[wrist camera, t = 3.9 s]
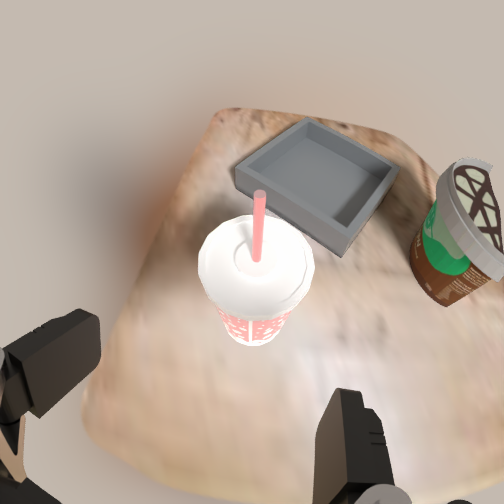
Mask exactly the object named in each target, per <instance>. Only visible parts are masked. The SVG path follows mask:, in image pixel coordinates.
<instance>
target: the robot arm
mask: <svg viewBox="0 0 504 504" xmlns="http://www.w3.org/2000/svg"><path fill="white" fill-rule="evenodd" d="M100 358H101V342H100V323H99V318H98V317H97V316H96V315H93V314H91V313H89V312H87V311H84V310H82V309H76V310H74V311H72V312H71V313H69V314H67V315H66V316H63V317H59V318H55V319H51V320H50V321H48V322H46V323H44V324H43V325H41V327H37V328H36V329H34V330H33V332H29V333H27V334H26V335H24V336H22V337H21V338H19V339H17V340H16V341H14V342H12V343H11V344H9V345H7V346H6V347H4V348H3V349H2V348H0V504H61V503H60V502H59V501H58V500H57V499H55V498H54V497H53V496H51V495H50V494H48V493H47V492H46V491H44V490H43V489H41V488H40V487H39V486H38V485H36V484H35V483H34V482H32V481H31V480H30V479H29V478H27V475H26V473H25V470H24V465H23V449H24V433H25V416H24V414H25V413H26V412H27V411H30V412H31V413H32V414H34V415H35V416H36V417H38V418H39V419H40V418H41V417H42V416H43V415H44V414H45V413H46V412H47V411H49V410H50V409H51V408H52V407H53V406H54V405H55V404H56V403H57V402H58V401H60V399H62V398H63V397H64V396H65V395H66V394H67V393H68V392H69V391H70V390H72V389H73V388H74V387H75V386H76V385H77V384H78V383H79V382H80V381H82V380H83V379H84V378H85V377H86V376H87V375H88V374H89V373H91V372H92V371H93V370H94V369H95V368H96V367H97V365H98V363H99V361H100ZM383 435H384V431H383V427H382V422H381V420H380V419H379V417H378V416H377V414H376V413H375V412H374V410H373V409H368V408H364V403H363V398H362V394H361V392H360V391H354V390H348V389H342V388H336V390H335V391H334V393H333V395H332V397H331V399H330V401H329V404H328V406H327V408H326V410H325V412H324V414H323V416H322V418H321V420H320V422H319V425H318V428H317V432H316V438H315V466H314V487H313V503H312V504H412V502H411V499H410V497H409V496H408V495H407V493H406V492H404V491H403V490H402V489H400V488H398V487H396V486H395V484H394V479H393V473H392V468H391V463H390V458H389V454H388V449H387V446H386V440H385V436H383ZM448 504H472V503H470V502H468V501H465V500H454V501H451V502H449V503H448Z"/></svg>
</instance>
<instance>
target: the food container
mask: <svg viewBox="0 0 504 504" xmlns="http://www.w3.org/2000/svg"><path fill="white" fill-rule="evenodd" d="M492 167H493V165H490V164H489V163H487V162H485V161H482V160H480V159H476V158H463V159H460V160H458V161H457V162H455V163H453V164H452V165H451V166H450V167H449V168H448V169H447V170H446V171H445V172H444V173H443V174H442V175H441V176H440V178H439V179H438V182H437V185H436V197H437V198H436V200H435V202H434V204H433V206H432V208H431V210H430V211H429V213H428V215H427V217H426V219H425V220H424V222H423V224H422V226H421V227H420V229H419V231H418V233H417V234H416V236H415V238H414V240H413V242H412V244H411V247H410V264H411V267H412V271H413V273H414V275H415V278H416V279H417V281H418V283H419V285H420V286H421V287H422V289H423V290H424V291H425V292H426V293H427V295H428V296H430V297H431V298H432V299H433V300H434V301H436V302H437V303H439V304H440V305H442V306H444V307H448V306H450V305H451V304H453V303H455V302H456V301H458V300H460V299H461V298H463V297H465V296H466V295H468V294H469V293H471V292H473V291H474V290H476V289H477V288H479V287H480V286H482V285H483V284H485V283H486V282H488V281H489V280H491V279H493V280H495V281H496V282H499V281H500V280H501V278H502V277H503V276H504V252H503V245H502V237H501V218H500V210H499V206H498V203H497V201H496V198H495V196H494V193H493V190H492V186H491V182H490V178H489V173H490V171H491V169H492Z"/></svg>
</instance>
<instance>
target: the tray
mask: <svg viewBox="0 0 504 504" xmlns="http://www.w3.org/2000/svg"><path fill="white" fill-rule="evenodd" d="M400 168H401V167H399V166H397V165H396V164H394V163H392V162H391V161H389V160H387V159H386V158H384V157H382V156H381V155H379V154H377V153H376V152H374V151H372V150H370V149H369V148H367V147H365V146H363V145H361V144H360V143H358V142H356V141H354V140H352V139H350V138H349V137H347V136H345V135H343V134H341V133H339V132H337V131H335V130H333V129H331V128H329V127H327V126H325V125H323V124H321V123H319V122H317V121H315V120H313V119H311V118H309V117H305V118H304V119H302V120H301V121H299V122H298V123H296V124H295V125H293V126H292V127H291V128H289V129H288V130H286V131H285V132H283V133H282V134H280V135H279V136H277V137H276V138H274V139H273V140H272V141H270V142H269V143H267V144H266V145H265V146H263V147H262V148H260V149H259V150H257V151H256V152H255V153H253V154H252V155H251V156H249V157H248V158H246V159H245V160H244V161H242V162H241V163H240V164H238V165H237V166H236V167H235V182H236V189H237V190H239V191H241V192H242V193H244V194H245V195H247V196H248V197H250V198H252V199H253V200H254V192H255V191H256V190H264V191H265V192H266V204H265V207H266V208H267V209H269V210H270V211H272V212H273V213H275V214H276V215H278V216H279V217H281V218H282V219H284V220H285V221H287V222H289V223H290V224H292V225H293V226H295V227H296V228H298V229H299V230H301V231H302V232H304V233H305V234H307V235H308V236H309V237H311V238H312V239H314V240H315V241H317V242H318V243H320V244H321V245H323V246H324V247H326V248H327V249H329V250H330V251H331V252H333V253H334V254H336V255H337V256H339V257H340V258H341V257H342V256H343V255H344V253H345V252H346V251H347V249H348V248H349V247H350V245H351V244H352V242H353V241H354V240H355V238H356V237H357V236H358V234H359V233H360V231H361V230H362V229H363V227H364V226H365V224H366V223H367V222H368V220H369V219H370V217H371V216H372V215H373V213H374V212H375V210H376V209H377V207H378V206H379V205H380V203H381V202H382V200H383V199H384V197H385V196H386V194H387V193H388V191H389V190H390V188H391V187H392V185H393V183H394V181H395V179H396V177H397V175H398V173H399V171H400Z"/></svg>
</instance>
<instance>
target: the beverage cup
mask: <svg viewBox="0 0 504 504" xmlns="http://www.w3.org/2000/svg"><path fill="white" fill-rule="evenodd" d="M265 204H266V192H265V191H264V190H256V191H255V192H254V204H253V215H242V216H239V217H237V218H234V219H231V220H228V221H226V222H223V223H222V224H221V225H219V226H218V227H217V228H216V229H215V230H214V231H212V232H211V233H210V234H209V235H208V236H207V238H206V240H205V242H204V244H203V246H202V248H201V250H200V252H199V257H198V275H199V278H200V280H201V282H202V284H203V287H204V289H205V291H206V293H207V296H208V298H209V299H210V300H211V301H212V302H213V303H214V304H215V305H216V306H217V309H218V311H219V313H220V316H221V318H222V320H223V323H224V325H225V327H226V329H227V331H228V333H229V335H230V336H231V337H233V338H234V339H235V340H236V341H237V342H239V343H242V344H245V345H248V346H255V345H262V344H264V343H267V342H269V341H271V340H272V339H273V338H274V337H275V336H276V335H277V333H278V332H279V331H280V329H281V327H282V326H283V324H284V322H285V321H286V319H287V317H288V316H289V314H290V312H291V310H293V309H294V308H295V306H296V305H297V304H298V303H299V302H300V301H301V300H302V298H303V297H304V296H305V295H306V293H307V291H308V290H309V288H310V284H311V281H312V277H313V273H314V270H315V265H314V260H313V255H312V249H311V247H310V246H309V244H308V243H307V241H306V240H305V238H304V237H303V235H302V234H301V232H299V231H298V230H297V229H295V228H294V227H292V226H291V225H289V224H288V223H287V222H285V221H284V220H281V219H277V218H274V217H270V216H267V215H265Z"/></svg>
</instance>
